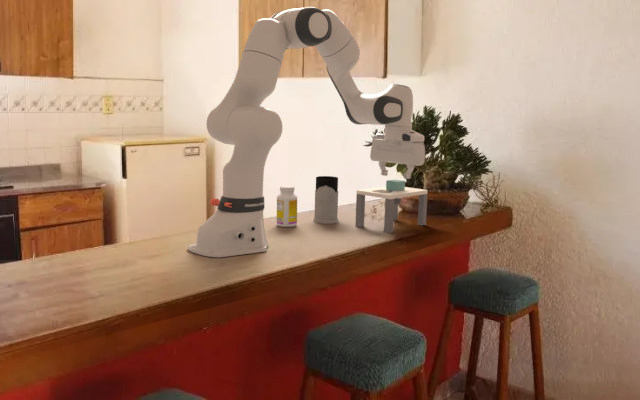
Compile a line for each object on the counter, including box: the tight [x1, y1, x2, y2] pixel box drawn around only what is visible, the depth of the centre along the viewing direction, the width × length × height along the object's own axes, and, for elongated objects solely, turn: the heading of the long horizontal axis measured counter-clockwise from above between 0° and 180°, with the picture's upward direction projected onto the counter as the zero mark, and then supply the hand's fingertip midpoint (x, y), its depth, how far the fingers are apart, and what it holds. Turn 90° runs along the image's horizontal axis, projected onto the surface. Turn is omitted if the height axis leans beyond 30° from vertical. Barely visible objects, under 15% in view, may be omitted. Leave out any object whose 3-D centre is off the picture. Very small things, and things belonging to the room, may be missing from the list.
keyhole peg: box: [385, 179, 406, 205], centre depth 220 cm, size 4×4×8 cm
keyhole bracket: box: [354, 186, 428, 234], centre depth 220 cm, size 20×14×12 cm
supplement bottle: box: [276, 185, 298, 228], centre depth 215 cm, size 7×7×13 cm
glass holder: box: [312, 175, 339, 225], centre depth 227 cm, size 9×14×15 cm, turn 173°
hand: (395, 176), depth 219 cm, fingers open, 8 cm apart
